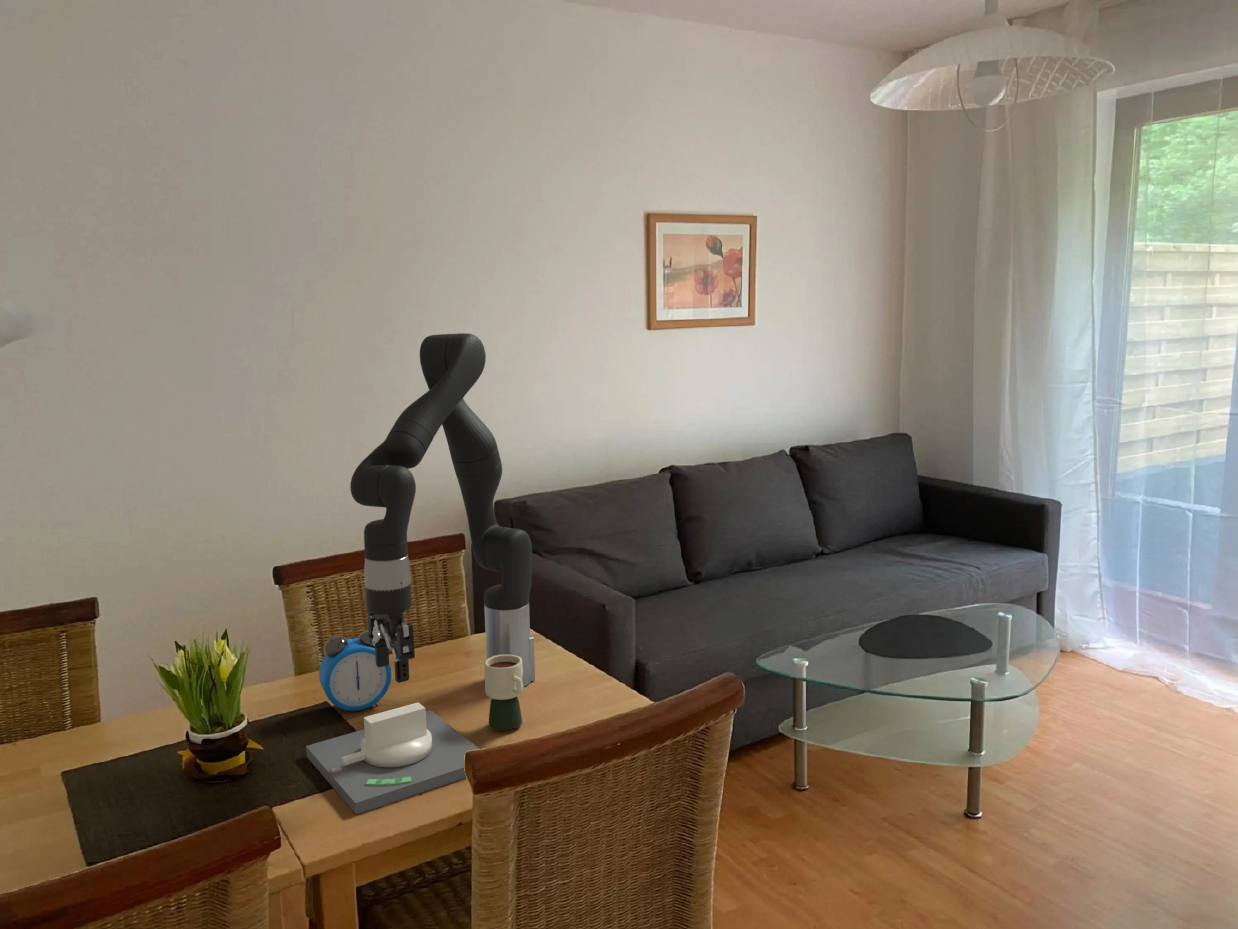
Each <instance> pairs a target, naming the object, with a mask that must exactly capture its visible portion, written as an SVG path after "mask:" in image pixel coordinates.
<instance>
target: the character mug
mask: <svg viewBox="0 0 1238 929" xmlns="http://www.w3.org/2000/svg"><path fill="white" fill-rule="evenodd" d="M522 676H523V667H522V659H521V658H520V657H519V656H515V655H497V656H492V657H490V658H488V659H487V660H484V687H485V688H484V690H485V695H486V697H488V698H489V699H490V704H489V712H488V726H489V728H491V729H492V730H494V731H506V730H507V731H508V730H511V729H515V728H519V727H521V726H522V725H523V718H522V710H521V706H520V701H519V698H518V697H519V696H520V695H521V694H522V692H523V691H524V687H525V686H523V683H522Z"/></svg>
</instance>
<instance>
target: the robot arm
mask: <svg viewBox="0 0 1238 929" xmlns="http://www.w3.org/2000/svg"><path fill="white" fill-rule="evenodd" d="M486 360H487V359H486V350H485V346H484V344H483V342H482V340H481V339H480V338H479V337H478V336H476V334H472V333H465V332H463V333H461V332H460V333H459V332H458V333H444V334H443V333H441V334H431V335H428V336H426V337H425V338H424V339H423V340H422V342H421V343H420V347H419V362H420V368H421V371H422V374H423V377H424V380H425V383H426V385H427V389H428V390H427V391H426V392H425V393H424V394H422V395H421V396H420V397H418V398H417V399H416V400H414V401H413V402H412V403H411V404H409V405H408V406H407V407H406V408H405V409H404V410H403V411H402V412H401V414H400V415H399V416H398V418H397V419H395V420H396V421H395V422H394V423H393V426H392V428H391V429H390V431H389V432H388V434H387V435H386V438H385V439H384V441H383V442H382V443H380V444H379V445H377V446H376V447H375V449H373V450H372V451H371V452H370V453H369V454H368V455H367V456H366V457H365V458H364V459H363V460H362V461H361V462H360V463H359V464H358V466H357V467H356V468H355V470H354V472H353V473H352V475H351V480H350V484H349V486H350V490H349V491H350V494H351V497H352V498H353V500H354V501H355V502H356V503H357V504H358V505H361V506H365V507H375V508H386V509H385V510H386V511H385V515H384V518H381V519H376V520H373V521H370V522H368V523H367V524H366V525H365V526H364V530H363V543H364V544H363V547H364V570H363V571H364V572H363V576H364V592H365V593H364V595H365V608H366V610H367V631H368V637H369V639H373V640H372V643H373V645H374V646H375V659H376V666H378V667H383V666H387V665H389V663H390V651H391V652H392V656H393V660H394V662H393V663H394V678H395V679H394V681H396V682H397V683H403V682H407V681H409V679H410V668H409V666H410V664H409V663H410V662H409V660H413V659H415V657H416V653H415V641H414V638H415V637H414V625H413V623H411V622H409V623H406V621H405V619H404V613H405V612H406V611H408V610H409V609H411V607H412V605H413V604H412V584H411V583H412V582H411V579H412V578H411V566H410V564H411V563H410V560H409V550H408V549H409V547H408V527H409V524H410V518H411V514H412V513H411V512H412V508H413V505H414V501H415V497H416V489H417V486H416V485H417V484H416V479H415V478H414V475H413V473H412V472H411V470H410V469H413V468H416V467H417V466H418V465H419V464H420V463H421V461H423V458H424V456H425V455H426V453H427V451H428V449H429V448H430V446H431V443H432V442H433V441H434V438H435V436H436V435H437V433H438V431H439V429H440V428H441V426H442V428H443V433H444V435H445V436H444V437H445V438H446V442H447V445H448V449H449V453H450V454H449V455H450V458H451V463H452V465H453V469H454V473H455V475H456V479H457V482H458V485H459V487H460V488H459V489H460V492H461V496H462V500H463V504H464V508H465V513H466V517H467V522H468V523H467V524H468V530H469V536H470V540H471V547H472V552H473V555H474V558H475V560H476V562H477V565H479V566H480V567H481V568H482V569H485V570H487V571H492V572H497V573H502V580H501V583H500V584H499V583H498V584H496V585H493V586H490V587H489V588H487V589H486V590H485V591H484V596H483V602H484V603H483V604H484V628H485V630H484V631H485V653H486V654H485V655H486V660H487V659H488V658H490V657H492V656H497V655H515V656H519V657H520V658H521V659H522V667H523V676H522V683H523V686H524V687H526V686H528V685H529V684H531V681H532V682H534V681H536V665H535V663H536V662H535V660H536V659H535V639H534V638H535V637H533V636H532V635H531V629H530V627H531V626H530V624H531V622H530V594H531V593H530V592H531V588H532V579H533V578H532V577H533V576H532V575H533V573H532V572H533V571H532V570H533V545H532V540H531V536H530V535H529V533H527V532H526V531H525V530H523V529H520V528H513V527H512V528H511V527H505V526H500V525H499V523H498V520H497V518H496V517H497V516H496V514H495V508H494V499H495V495H496V493H497V490H498V488H499V485H500V482H501V480H502V479H501V478H502V475H503V466H502V465H503V464H502V463H503V462H502V460H501V459H502V458H501V456H500V452H499V448H498V445H497V441H496V438H495V437H494V435H493V433H492V432H491V430H490V428H489V427H488V426H487V425H486V424H485V423H484V422H483V421H482V419H481V418H479V416H478V415H477V414H476V413H475V412H474V411H473V410H472V409H471V408H470V407H469V405H468V404H467V403H466V401H465V399H464V397H465V396H466V394H468V392H469V391H470V390H471V389H472V388H473V386H475V384H476V382H478V380H479V378H480V377H481V375H482V373H483V372H484V369H485V366H486V365H485V364H486ZM486 660H485V661H486Z"/></svg>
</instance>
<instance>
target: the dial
mask: <svg viewBox="0 0 1238 929" xmlns="http://www.w3.org/2000/svg"><path fill="white" fill-rule="evenodd" d="M426 712H427V711H426V707H425V706H424V705H422V704H421V703H420V702H414V703H411V704H407V705H404V706H401V707H397V708H393V709H389V710H385V711H382V712H378V713H374V714H371V715H368V716H364V717H363V724H364V725H363V726H364V727H363V728H364V729H365V737H364V738H363V739H362V741H361V751H360V752H357V753H354V754H350V755H347V756H343V757H342V762H343V763H344V764H345V765H347V764H351V763H354V762H357V761H361V760H364V761H365V762H366V763H368V764H370V765H373V766H378V767H399V766H405V765H409V764H412V763H415V762H417V761H420V760H422V759H423V758H425V757H426V756H427V755H428V754H429V753H430V752H431V750H432V735H431V733H430V731H429V730H427V728H426ZM364 729H363V730H364Z"/></svg>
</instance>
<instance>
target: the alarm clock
mask: <svg viewBox="0 0 1238 929" xmlns="http://www.w3.org/2000/svg"><path fill="white" fill-rule="evenodd" d="M372 640H373V639H369V637H368V630H364V631H363V632H361V633H360V634H359V635H358V638H357V636H356V635H355V636H350V638H346V637H345V636H342V635H335V636H332V637H330V638H329V639H328V640H327V641H326V642H325V644H324V646H323V653H324V656H323V658H322V660H321V662H320V666H319V668H318V669H319V670H318V677H319V683H320V685H321V689H323V691H324V694H325V696H326V697H327V699H328V701H329V702H331V704H332V705H334V706H335V707H337V708H339V709H341V713H340V714H344V712H345V711H349V712H357V711H362V710H366V709H369V708H370V707H372V706H375V707H378V706H379V705H378V703H379V701H380V700H382V699H383V697H385V695H386V693H387V691H388V690H389V688H390V685H391V682H392V673H393V672H392V666H391V663H390V662H389V665H387V666H383V667H378V666H376V659H375V646H374V645H373V643H372Z"/></svg>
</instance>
